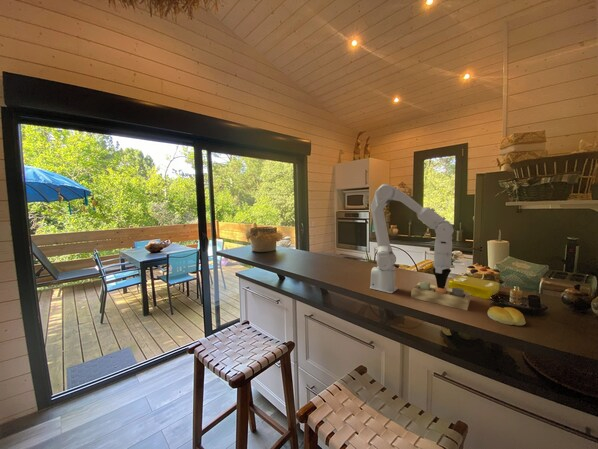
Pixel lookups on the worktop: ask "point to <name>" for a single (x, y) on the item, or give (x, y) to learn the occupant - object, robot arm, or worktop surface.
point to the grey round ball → (458, 292)
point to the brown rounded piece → (440, 290)
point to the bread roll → (506, 315)
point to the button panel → (441, 297)
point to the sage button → (425, 286)
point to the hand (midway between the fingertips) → (441, 287)
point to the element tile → (475, 286)
